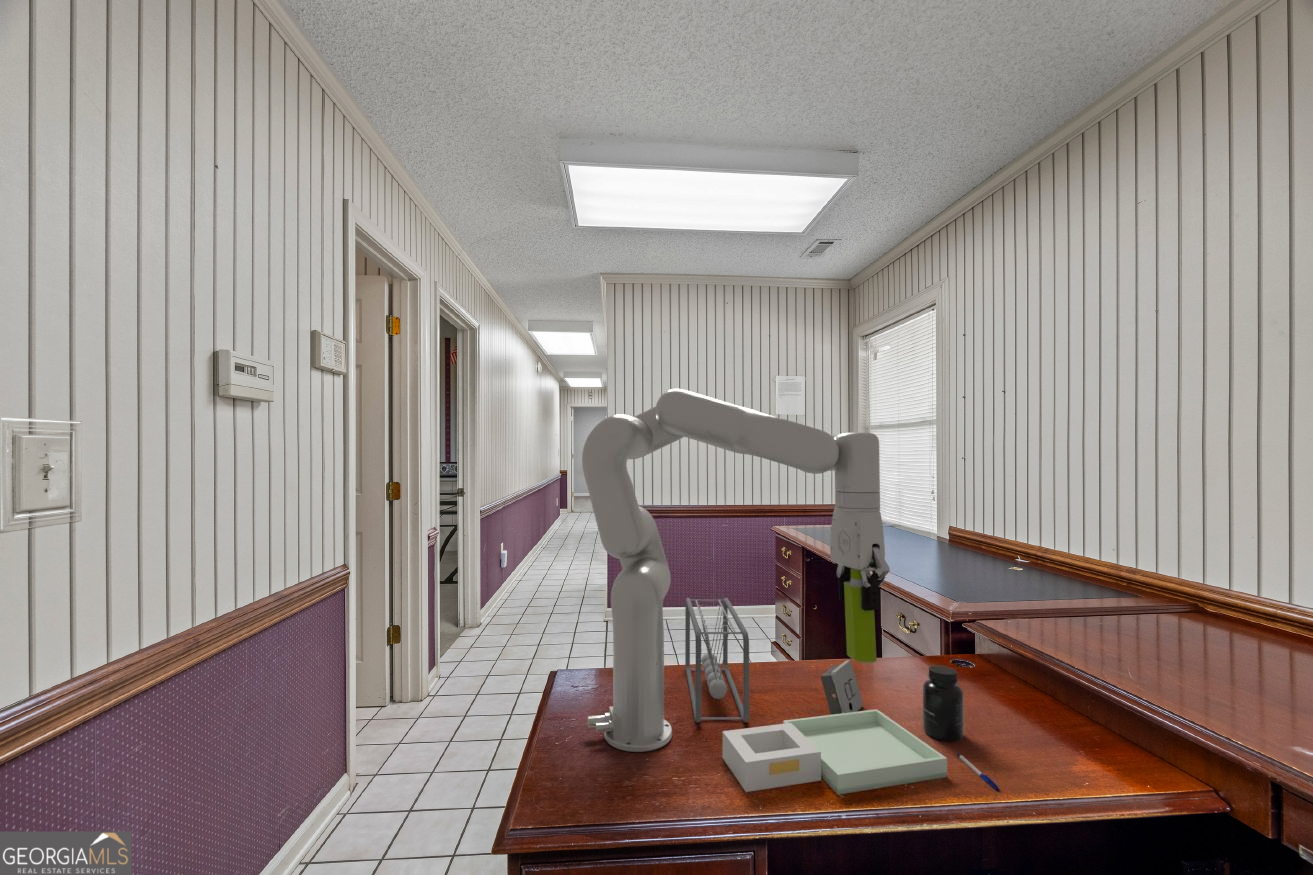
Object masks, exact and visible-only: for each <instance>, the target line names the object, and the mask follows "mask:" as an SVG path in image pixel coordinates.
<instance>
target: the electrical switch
mask: <svg viewBox="0 0 1313 875" xmlns="http://www.w3.org/2000/svg"><path fill="white" fill-rule="evenodd" d="M820 680H821V685H822V687H823V690H824V694H825V699H826V701H827V705H828V709H829V712H830V715H834V714H842V713H850V712H859V710H861V708H862V707H863V704H864V702H863V698H862V693H861V691H860V687H859V684H858V681H857V680H858V679H857V676H856V673H855V670H854V667H853V663H852V661H851V660H850V659H849V660H847V659H846V660H845V661H844V662H842V663H840V664H834V665H832V666H831V667H830V668H829V669H827V670H826V671H825V672H823V673H822V674H821V675H820Z"/></svg>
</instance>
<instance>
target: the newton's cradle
mask: <svg viewBox="0 0 1313 875" xmlns="http://www.w3.org/2000/svg"><path fill="white" fill-rule="evenodd" d="M692 602H695V603H696V606H697V611H698V614H699V616H700V619H701V626H702V629H703V630H702V631H701V629H700V627H699V623H698V620H697V617H696V613H695V610H694V607H693V603H692ZM699 602H718V603H719V606H718V607H719V608H718V610H717V609H714V610H713V609H712V610H711V609H701V605H699ZM722 602H723V603H722ZM684 605H685V611H684V612H685V614H684V615H685V618H684V619H685V624H684V628H685V634H684V635H685V636H684V637H685V639H684V640H685V641H684V642H685V644H684V645H685V646H684V647H685V648H684V649H685V650H684V652H685V657H684V658H685V659H684V660H685V664H684V665H685V672H686V678H687V684H688V690H689V695H690V700H691V707H692V713H693V718H694V721H695V722H696V723H700V722H701V721H703V720H706V721H708V720H709V721H711V720H713V721H714V720H715V721H716V720H718V721H719V720H721V721H723V720H724V721H725V720H726V721H727V720H729V721H730V720H733V721H734V720H736V721H737V720H740V721H742V723H748V722H749V721H750V720H749V719H750V640H749V639H750V638H749V637H750V636H749V632H748V631H747V629H746V627H745V625H744V624H743V622H742V620H741V618H740V617H739V615H738V613H737V612H736V610H735V608H734V606H733V605H732V603H731V601H730V600H729V598H727V597H725V598H723V599H693V598H690V597H687V598H685V604H684ZM721 609H722V610H721ZM705 611H707V612H708V611H710V612H711V611H713V612H716V611H717V619H716V623H715V625H714V624H713V625H712V624H711V625H710V624H709V625H707V624H706V619H704V614H703V613H702V612H705ZM720 611H721V613H720ZM728 611H729V613H730V615H731V617H732V618H733V620H734V622H735V624H736V625H737V627H738V630H739V631H736V629H735V627H734V625H733V623H732V622H731V620H730V618H729V615H728ZM719 616H720V619H719ZM718 621H719V624H718ZM721 621H722V625H721ZM728 623H729V624H728ZM691 624H692V627H693V628H692V629H693V631H694V636H695V668H691ZM717 624H718V625H717ZM713 626H714V631H708V627H713ZM717 627H718V629H717ZM720 627H721V629H720ZM730 628H731V629H732V631H730ZM719 630H721V631H719ZM702 635H703V636H704V640H705V645H706V650H707V651H706V653H704V654H703V655H702ZM709 635H713V638H712V642H710V641H711V640H710V636H709ZM715 635H716V640H715V645H714V639H715ZM719 635H720V636H719ZM729 635H742V641H743V642H742V645H743V646H742V649H743V651H742V652H743V657H742V658H743V663H742V664H743V666H742V667H743V670H742V671H743V672H742V673H743V676H742V677H743V679H742V680H743V686H742V687H743V688H742V689H743V690H742V691H743V692H742V694H743V697H742V698H743V702H742V700H741V697H740V695H739V692H738V690H737V687H736V684H735V682H734V680H733V676H732V673H731V671H730V670H729V662H728V659H729V658H728V656H729V655H728V654H729V653H728V652H729V650H728V649H729V648H728V647H729V646H728V641H729V640H728V639H729ZM718 636H719V637H718ZM721 637H722V638H721ZM718 638H719V640H718ZM721 639H722V643H721ZM717 641H719V642H718V645H717ZM711 643H712V645H711ZM720 643H721V648H720ZM713 646H714V651H713ZM716 648H717V651H716ZM719 648H720V649H721V650H720V653H719ZM712 651H713V652H712ZM715 651H716V652H717V653H716V654H715ZM718 654H719V659H718ZM721 658H722V662H721V665H720V661H721ZM723 665H728V666H723ZM720 666H721V667H720ZM692 671H695V683H694V681H693V675H692ZM702 671H703V672H704V677H705V680H706V684H707V687H708V692H709V695H710V696H711V697H712V698H714V699H717V700H721V699H723V698H725V697H726V696H727V692H728V688H727V684H726V683H725V678H724V676H723V673H722V672H723V671H724V674H725V676H726V679H727V681H728V682H727V683H728V684H729V688H730V691H731V692H732V696H733V698H734V701H735V704H736V706H737V709H738V711H739V715H740V717H737V716H735V717H734V716H733V717H732V716H731V717H729V716H727V717H723V716H721V717H720V716H719V717H714V716H713V717H710V716H709V717H705V716H704V717H702ZM694 684H695V685H694Z"/></svg>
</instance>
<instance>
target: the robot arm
mask: <svg viewBox="0 0 1313 875" xmlns="http://www.w3.org/2000/svg"><path fill="white" fill-rule="evenodd" d="M684 438H686V439H687V438H688V439H690V440H694V441H697V442H701V443H704V444H707V445H710V446H712V447H716V448H720V449H722V450H725V451H729V452H733V453H736V454H738V455H739V454H741V455H747V456H748V455H749V456H754V457H757V458H761V459H765V460H768V461H771V462H774V463H778V464H782V465H784V466H788V467H791V468H793V469H796V470H800V471H801V472H804V473H808V474H813V475H817V474H818V475H819V474H824V473H827V472H830V471H833V472H834V509H833V513H832V518H831V526H830V528H831V529H830V545H829V546H830V547H829V548H830V550H829V551H830V553H829V554H830V556H829V557H830V560H831V561H832V562H833V564H834V567H835V569H836V577H837V578H838V579H837V580H838V582H837V583H838V590H837V591H838V600H839V601H842V602H843V601H845V595H844V582H846V581H851V569H850V568H852V569H856V570H861V575H862V579H863V583H864V586H861V602H862V610H865V611H869V610H874V611H879V610H880V608H881V595H880V594H881V593H880V592H881V591H880V590H881V587H882V586H883V581H884V580H885V579H886V576H887V575H888V574H889V573H890V571H891V569H890V566H889V565H888V562H887V561H886V559H885V558H886V557H885V556H886V551H885V550H886V548H885V546H886V545H885V535H884V526H883V520H882V514H881V481H880V480H881V479H880V478H881V477H880V475H881V472H880V471H881V470H880V466H881V465H880V440H879V437H878V436H877V434H875V433H873V432H866V431H865V432H858V431H857V432H856V431H854V432H844V433H838V434H836V435H835V434H830V433H828V432H826V431H824V430H822V429H819V428H816V427H812V426H809V425H805V424H803V423H798V422H795V421H792V420H790V419H789V420H788V419H785V418H781V417H778V416H773V415H770V414H767V413H762V412H760V411H757V410H755V409H751V408H749V407H745V406H741V405H738V404H733V403H730V402H727V401H723V400H720V399H717V398H713V397H710V396H707V395H704V394H701V393H696V392H693V391H690V390H686V389H681V388H671V389H669V390H666V391H665V392H663V393H662V394H661V395H660V397H659V398H658V400H657V402H656V405H655V406H653V407H652V408H649V409H647V410H645V411H643V412H641V413H639V414H637V415H634V416H631V415H627V414H623V413H619V414H613V415H610V416H608V417H605V418H604V419H603V420H601V421H600V422H598V424H596V425H595V426H594V427H593V429H592V430H591V431H590V433H589V434H588V435H587V437H586V440H585V441H584V445H583V448H582V449H583V450H582V453H581V454H582V456H581V463H582V464H581V466H582V472H583V476H584V480H585V483H586V486H587V490H588V494H589V498H590V502H591V507H592V511H593V514H594V517H595V521H596V526H597V529H598V533H599V538H600V540H601V544H602V547H603V548H604V550H605V551H606V553H607V554H608V555H609V556H611V557H613V558H614V559H615V558H616V559H618V560H619V562H620V566H621V568H622V570H621V571H620V572H619V573H618V574H617V576H616V578H615V579H614V580H613V584H612V587H611V592H610V606H611V617H612V636H613V637H612V642H613V644H612V645H613V646H612V650H613V651H612V652H613V655H612V658H613V659H612V661H613V662H612V664H613V667H612V668H613V669H612V670H613V671H612V673H613V674H612V677H613V678H612V679H613V680H612V683H613V684H612V706H611V705H609V707H608V708H609V709H608V712H604V713H603V714H600V715H597V714H595V715H588V716H587V721H586V722H587V728H588V729H589V728H595V731H596V733H599V732H604V734H603V735H604V740H605V741H606V742H607V743H608V745H610V746H612V747H613V748H615V749H618V750H620V751H624V752H631V753H633V752H634V753H642V752H643V753H644V752H651V751H654V750H658V749H660V748H662V747H664V746H666V745H667V744H668V743H669V742H670V741H671V740H672V736H673V729H672V726H671V723H669V721H667V720H666V719H665V713H664V712H665V635H664V634H665V632H664V630H665V627H664V610H663V608H664V605H663V604H664V599H665V597H666V595H667V594H668V592H669V590H670V587H671V580H672V579H671V577H672V576H671V572H670V567H669V564H668V560H667V557H666V553H665V550H664V547H663V543H662V539H661V536H660V532H659V530H658V526H657V523H656V521H655V519H654V517H653V516H652V515H651V513H650V512H649V511H648V510H646V509H645V508H644V507H642V506H639V503H638V500H637V496H636V492H635V488H634V485H633V482H632V479H631V476H630V474H629V471H628V468H627V466H628V465H627V462H628V460H638V459H640V458H643V457H645V456H648V455H650V454H652V453H654V452H657V451H658V450H660V449H662V448H664V447H667V446H669V445H671V444H674V443H675V442H677V441H679V440H681V439H684ZM868 565H869V567H868ZM866 567H867V568H866ZM868 572H870V573H871V574H870V577H869V575H868Z"/></svg>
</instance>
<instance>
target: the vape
mask: <svg viewBox="0 0 1313 875" xmlns="http://www.w3.org/2000/svg"><path fill="white" fill-rule="evenodd" d="M868 567H869V565H868ZM866 568H867V567H866ZM850 569H851V581H846V582H844V595H845V600H844V616H845V617H844V618H845V639H846V656H848V657H849V658H851V659H852V660H853V661H854V662H855V663H862V664H872V663H876V662H877V643H876V642H877V641H876V627H875V626H876V623H875V622H876V620H875V610H869V611H865V610H862V602H861V586H864V583H863V579H862V575H861V570H856V569H852V568H850ZM868 575H869V577H870V576H871V572H868Z"/></svg>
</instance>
